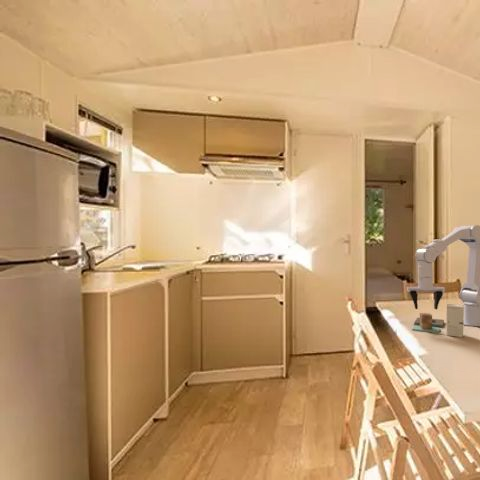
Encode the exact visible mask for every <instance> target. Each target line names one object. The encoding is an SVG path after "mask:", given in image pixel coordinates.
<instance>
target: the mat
mask: <svg viewBox="0 0 480 480" xmlns="http://www.w3.org/2000/svg"><path fill="white" fill-rule="evenodd" d="M411 331H414V332H415V331H416V332H424V333H434V334H439V333H440V331H441V328H439V327H432V330H431V329H421V327H420V326H419V325H414V324H413V327H412V328H411Z"/></svg>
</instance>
